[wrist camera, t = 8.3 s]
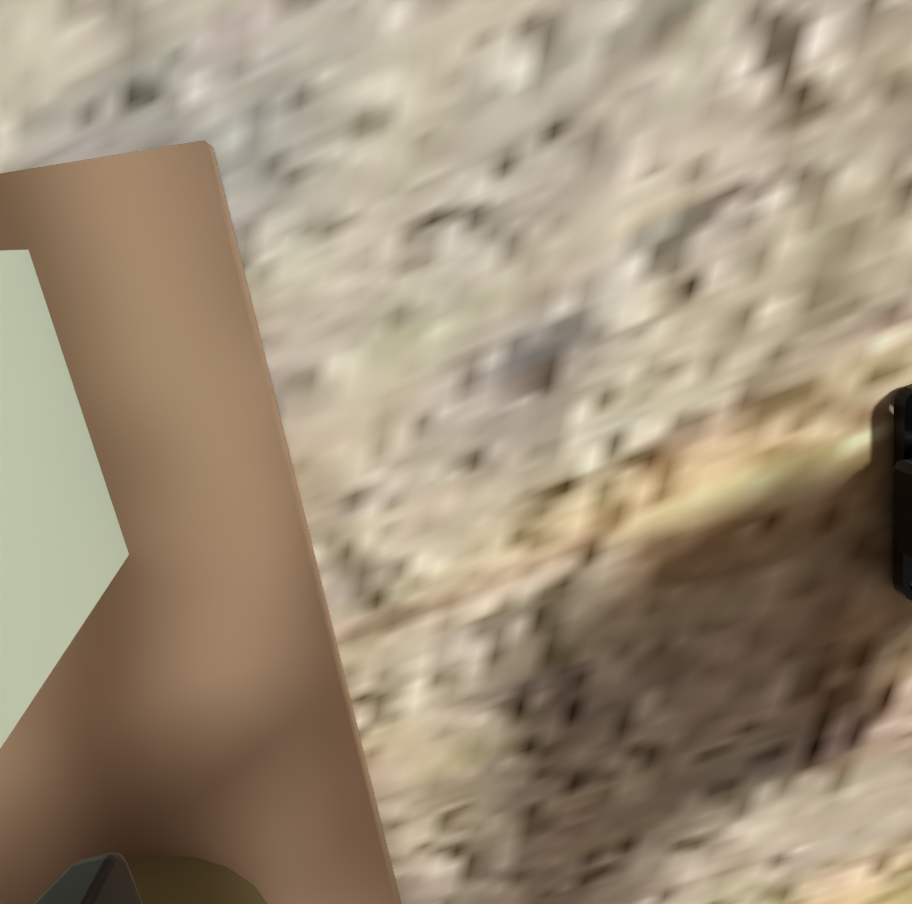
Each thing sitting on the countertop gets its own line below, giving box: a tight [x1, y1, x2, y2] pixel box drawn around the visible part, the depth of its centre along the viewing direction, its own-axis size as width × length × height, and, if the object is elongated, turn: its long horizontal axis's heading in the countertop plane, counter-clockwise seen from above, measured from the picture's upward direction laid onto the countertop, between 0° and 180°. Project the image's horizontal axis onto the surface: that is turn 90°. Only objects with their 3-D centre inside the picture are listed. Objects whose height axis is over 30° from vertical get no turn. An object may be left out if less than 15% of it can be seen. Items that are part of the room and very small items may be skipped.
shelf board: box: [0, 140, 401, 904], centre depth 19 cm, size 11×28×3 cm, turn 10°
